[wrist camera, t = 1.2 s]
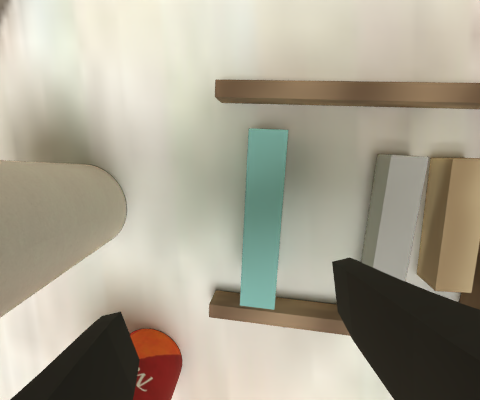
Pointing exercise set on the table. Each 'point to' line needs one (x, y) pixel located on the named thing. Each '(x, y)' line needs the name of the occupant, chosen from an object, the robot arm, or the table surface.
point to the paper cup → (156, 365)
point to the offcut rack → (335, 94)
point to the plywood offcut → (451, 225)
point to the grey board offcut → (393, 213)
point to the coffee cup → (52, 222)
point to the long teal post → (263, 216)
